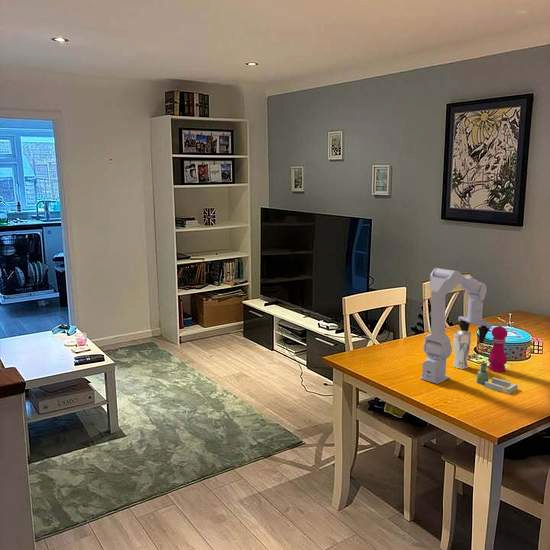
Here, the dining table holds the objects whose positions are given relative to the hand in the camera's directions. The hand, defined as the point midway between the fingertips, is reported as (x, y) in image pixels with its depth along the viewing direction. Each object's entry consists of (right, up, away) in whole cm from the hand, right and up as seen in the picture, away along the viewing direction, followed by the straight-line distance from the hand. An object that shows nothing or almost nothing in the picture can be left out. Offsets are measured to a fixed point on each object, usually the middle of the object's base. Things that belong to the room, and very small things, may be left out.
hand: (473, 340), depth 234 cm
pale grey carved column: (-6, -11, -2) cm, 13 cm away
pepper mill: (+8, -12, -6) cm, 15 cm away
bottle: (-4, -14, -20) cm, 25 cm away
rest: (+1, -15, -25) cm, 29 cm away
